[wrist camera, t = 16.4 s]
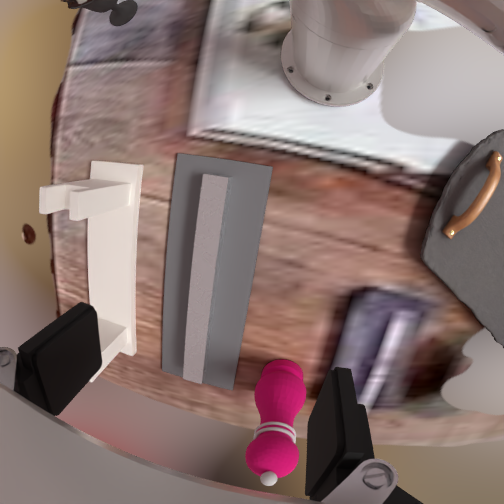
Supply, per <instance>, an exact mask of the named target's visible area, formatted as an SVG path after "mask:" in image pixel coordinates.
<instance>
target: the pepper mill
mask: <svg viewBox="0 0 504 504" xmlns="http://www.w3.org/2000/svg"><path fill="white" fill-rule="evenodd" d="M305 398H306V387H305V385H304V383H303V372H302V370H301V368H300V367H299V365H297V364H296V363H294V362H292V361H289V360H284V359H281V360H275V361H272V362H270V363H268V364H267V365H266V366H265V367H264V368H263V371H262V375H261V379H260V380H259V381H258V383H257V385H256V387H255V402H256V406H257V408H258V411H259V413H260V417H261V423H260V425H259V426H258V427H257V428H256V429H255V432H254V434H255V435H254V437H253V441H252V442H251V443H250V444H249V446H248V447H247V450H246V463H247V465H248V467H249V469H250V470H251V471H252V472H253V473H255V474H257V475H259V476H261V482H262V483H263V484H264V485H267V486H271V485H273V484H275V483H276V481H277V478H280V477H283V476H286V475H287V474H289V473H290V472H292V471H293V469H294V468H295V467H296V465H297V463H298V459H299V451H298V448H297V446H296V445H295V442H296V439H295V438H296V432H295V430H294V429H293V421H294V418H295V416H296V415H297V413H298V412H299V411H300V410H301V408H302V406H303V404H304V402H305Z"/></svg>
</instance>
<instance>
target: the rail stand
mask: <svg viewBox="0 0 504 504" xmlns="http://www.w3.org/2000/svg"><path fill="white" fill-rule="evenodd" d="M142 174H143V165H141V164H131V163H121V162H110V161H98V160H97V161H92V163H91V173H90V179H88V180H81V181H74V182H67V183H61V184H54V185H48V186H43V187H40V200H39V201H40V202H39V213H42V214H49V213H52V212H56V211H60V210H63V209H67V210H70V220H74V221H80V220H83V219H86V218H88V281H89V298H90V305H91V306H93V307H94V309H95V311H96V312H97V317H98V328H99V338H100V347H101V355H102V366H101V368H100V369H99V371H98V372H97V373H96V374H95V375H94V376H93V377H92V378H91V379H90V380H89V381H90V382H93V381H94V380H95V378H96V377H97V376H98V375H99V374H100V373H101V372H102V371H103V369H104V368H105V367H106V366H107V365H108V364H109V363H110V362H111V361H112V359H113V358H114V357H115V356H116V355H117V354H118V353H119V352H122V353H125V354H128V355H131V356H133V355H134V354H135V353H136V352H137V350H136V318H135V282H136V249H137V231H138V216H139V204H140V193H141V183H142Z"/></svg>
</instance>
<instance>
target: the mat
mask: <svg viewBox="0 0 504 504" xmlns="http://www.w3.org/2000/svg"><path fill="white" fill-rule="evenodd" d="M272 169H273V167H270V166H264V165H258V164H252V163H246V162H240V161H233V160H226V159H219V158H212V157H204V156H197V155H188V154H180V153H178V155H177V162H176V170H175V177H174V185H173V194H172V202H171V212H170V221H169V232H168V243H167V256H166V270H165V286H164V307H163V340H162V371H164V372H167V373H170V374H174V375H177V376H180V377H183V370H184V353H185V338H186V324H187V311H188V300H189V289H190V278H191V268H192V259H193V250H194V241H195V232H196V224H197V216H198V208H199V201H200V193H201V186H202V179H203V174H207V173H211V174H218V175H224V176H231V177H233V181H232V187H231V193H230V200H229V206H228V213H227V219H226V226H225V233H224V240H223V247H222V254H221V261H220V268H219V275H218V283H217V290H216V298H215V305H214V313H213V321H212V329H211V337H210V346H209V354H208V363H207V371H206V376H205V378H204V380H203V383H205V384H209V385H213V386H217V387H220V388H225V389H229V390H233V386H234V381H235V375H236V370H237V364H238V359H239V353H240V348H241V343H242V337H243V332H244V326H245V321H246V315H247V310H248V304H249V298H250V293H251V287H252V282H253V276H254V271H255V265H256V260H257V254H258V248H259V243H260V237H261V231H262V226H263V220H264V214H265V209H266V203H267V197H268V192H269V186H270V180H271V175H272Z"/></svg>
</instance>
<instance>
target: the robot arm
mask: <svg viewBox="0 0 504 504" xmlns="http://www.w3.org/2000/svg"><path fill="white" fill-rule="evenodd" d="M289 1H290V12H291V24H292V29H291V30H290V32H289V33H288V34H287V36H286V37H285V39H284V41H283V44H282V48H281V62H282V67H283V70H284V73H285V75H286V77H287V79H288V80H289V82H290V83H291V84H292V86H293V87H294V88H295V89H296V90H297V91H298V92H300V93H301V94H302V95H304V96H305V97H307V98H308V99H310V100H312V101H315V102H317V103H319V104H323V105H327V106H336V107H341V106H350V105H353V104H357V103H359V102H361V101H363V100H365V99H366V98H368V97H369V96H370V95H371V94H372V93H373V92H374V91H375V90H376V89H377V88H378V86H379V84H380V83H381V80H382V77H383V74H384V58H385V57H386V56H387V55H388V53H389V52H390V51H391V50H392V48H393V47H394V46H395V45H396V44H397V42H398V41H399V40H400V39H401V38H402V36H403V35H404V34H405V32H406V31H407V30H408V29H409V27H410V25H411V24H412V22H413V20H414V16H415V13H416V5H417V2H416V1H418V2H422V3H424V4H426V5H428V6H430V7H431V8H433V9H435V10H437V11H439V12H440V13H442V14H444V15H445V16H447V17H449V18H450V19H452V20H454V21H455V22H457V23H459V24H460V25H462V26H463V27H465V28H466V29H468V30H469V31H471V32H472V33H474V34H475V35H477V36H478V37H479V38H481V39H482V40H484V41H485V42H487V43H488V44H489V45H491V46H492V47H493V48H495V49H496V50H497V51H499V52H500V53H501V54H503V55H504V0H289ZM290 70H292V71H293V72H292V73H290V72H289V71H290ZM367 86H369V87H370V89H368V88H367ZM326 97H328V98H329V101H326V100H325V98H326ZM18 350H19V353H18V354H16V353H15V351H14V350H12V349H11V348H8V347H0V504H423V503H421V502H420V501H418V500H417V499H415V498H414V497H412V496H411V495H410V494H408V493H407V492H405V491H404V490H402V489H401V488H400V487H398V486H397V483H398V474H397V471H396V470H395V468H394V467H393V466H392V465H391V464H390V463H388V462H386V461H384V460H380V459H375V458H374V452H373V446H372V440H371V434H370V429H369V423H368V418H367V413H366V408H365V406H364V405H363V404H357V399H356V393H355V388H354V382H353V377H352V372H351V369H348V368H341V367H335V369H334V370H329V372H328V374H327V376H326V379H325V382H324V384H323V386H322V389H321V391H320V394H319V396H318V399H317V401H316V403H315V406H314V408H313V410H312V413H311V415H310V417H309V421H308V433H307V463H306V464H307V465H306V484H305V485H306V486H305V495H306V496H310V500H307V499H302V498H296V497H290V496H284V495H278V494H271V493H266V492H260V491H255V490H250V489H245V488H240V487H236V486H231V485H227V484H222V483H218V482H214V481H210V480H207V479H203V478H199V477H196V476H192V475H189V474H186V473H182V472H179V471H176V470H173V469H170V468H167V467H164V466H161V465H158V464H155V463H153V462H150V461H147V460H145V459H142V458H140V457H137V456H135V455H132V454H130V453H127V452H125V451H122V450H120V449H118V448H116V447H113V446H111V445H109V444H107V443H105V442H102V441H100V440H98V439H96V438H94V437H92V436H90V435H88V434H86V433H84V432H82V431H80V430H78V429H76V428H74V427H73V426H71V425H69V424H67V423H65V422H64V421H62V420H60V419H58V418H57V417H55V415H56V416H57V415H59V414H60V413H61V412H62V411H63V409H64V408H65V407H66V406H67V405H68V404H69V403H70V402H71V400H72V399H73V398H74V397H75V396H76V395H77V394H78V392H80V390H81V389H82V388H83V387H84V386H85V385H86V384H87V383H88V382H89V380H90V379H91V378H92V377H93V376H94V375H95V374H96V373H97V372H98V371H99V369H100V368H101V366H102V355H101V347H100V338H99V328H98V317H97V312H96V311H95V309H94V307H93V306H91V305H89V304H86V303H83V302H80V303H78V304H77V305H76V306H74V307H73V308H71V309H70V310H69V311H67V312H66V313H64V314H63V315H62V316H60V317H59V318H57V319H56V320H55V321H53V322H52V323H50V324H49V325H48V326H46V327H45V328H44V329H42V330H41V331H40V332H38V333H37V334H36V335H34V336H33V337H32V338H30V339H29V340H28V341H26V342H25V343H24V344H22V345H21V346H20V347H18Z"/></svg>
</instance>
